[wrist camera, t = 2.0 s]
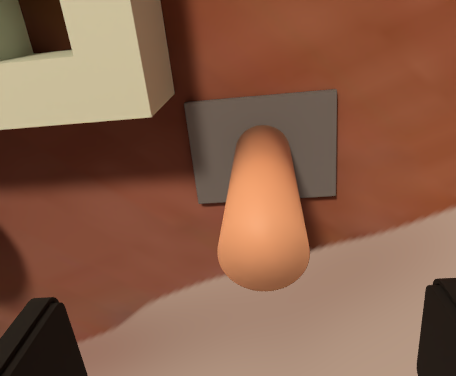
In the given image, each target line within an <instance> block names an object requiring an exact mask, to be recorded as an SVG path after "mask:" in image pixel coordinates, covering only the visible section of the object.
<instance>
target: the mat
mask: <svg viewBox="0 0 456 376" xmlns="http://www.w3.org/2000/svg"><path fill="white" fill-rule="evenodd" d="M184 108H185V114H186V121H187V128H188V135H189V141H190V148H191V155H192V162H193V169H194V175H195V182H196V189H197V196H198V202H199V204H203V203H220V202H226V199H227V194H228V188H229V183H230V177H231V171H232V166H233V160H234V155H235V149H236V144H237V142H238V139H239V138H240V136H241V135H242V134H243V133H244V132H245V131H246V130H248V129H250V128H252V127H254V126H259V125H268V126H272V127H274V128H276V129H278V130H280V131H281V132H282V133H283V134H284V135H285V137H286V138H287V140H288V142H289V146H290V151H291V156H292V161H293V166H294V172H295V177H296V182H297V187H298V192H299V197H300V198H308V197H325V196H336V135H337V90H336V89H331V90H319V91H308V92H296V93H285V94H273V95H261V96H250V97H238V98H227V99H215V100H204V101H192V102H185V103H184Z"/></svg>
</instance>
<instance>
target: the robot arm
mask: <svg viewBox="0 0 456 376" xmlns="http://www.w3.org/2000/svg"><path fill="white" fill-rule="evenodd" d="M417 373H418V376H456V278H444V279H435V280H434V282H433V285H428V286H427V287H426V292H425V300H424V309H423V317H422V325H421V334H420V342H419V350H418V358H417ZM0 376H87V372H86V369H85V366H84V363H83V360H82V357H81V354H80V351H79V348H78V345H77V342H76V339H75V336H74V333H73V330H72V327H71V324H70V321H69V318H68V315H67V312H66V309H65V306H64V304H63V303H59V301H58V300H57V299H56V298H54V297H49V298H33V299H31V300H30V301H29V302H28V303H27V305H26V306H25V307H24V309H23V310H22V311H21V312H20V314H19V315H18V316H17V318H16V319H15V320H14V322H13V323H12V324H11V325H10V327H9V328H8V329H7V331H6V332H5V333H4V335H3V336H2V337H1V338H0Z"/></svg>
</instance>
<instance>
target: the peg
mask: <svg viewBox="0 0 456 376" xmlns="http://www.w3.org/2000/svg"><path fill="white" fill-rule="evenodd" d="M309 258H310V249H309V243H308V238H307V233H306V228H305V223H304V217H303V212H302V207H301V202H300V197H299V192H298V187H297V182H296V177H295V172H294V166H293V161H292V156H291V151H290V146H289V142H288V140H287V138H286V137H285V135H284V134H283V133H282V132H281V131H280V130H278V129H276V128H274V127H272V126H268V125H259V126H254V127H252V128H250V129H248V130H246V131H245V132H244V133H243V134H242V135H241V136H240V138H239V139H238V142H237V144H236V149H235V155H234V160H233V166H232V171H231V177H230V183H229V188H228V194H227V199H226V205H225V211H224V216H223V222H222V227H221V233H220V239H219V244H218V260H219V263H220V266H221V268H222V269H223V271H224V272H225V274H226V275H227V276H228V277H229V278H230V279H231V280H232V281H234V282H235V283H237V284H238V285H240V286H242V287H244V288H248V289H251V290H255V291H273V290H278V289H281V288H284V287H287V286H288V285H290V284H292V283H294V282H295V281H296V280H297V279H298V278H299V277H300V276H301V275H302V274H303V273H304V271H305V269H306V268H307V265H308V263H309Z"/></svg>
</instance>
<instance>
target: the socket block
mask: <svg viewBox="0 0 456 376" xmlns="http://www.w3.org/2000/svg"><path fill="white" fill-rule="evenodd" d="M60 4H61V8H62V12H63V16H64V20H65V24H66V28H67V32H68V36H69V40H70V44H71V48H72V50H63V51H53V52H44V53H33V50H32V46H31V43H30V39H29V36H28V32H27V29H26V26H25V22H24V19H23V15H22V12H21V8H20V5H19V1H18V0H0V130H5V129H17V128H29V127H41V126H53V125H65V124H77V123H89V122H101V121H113V120H125V119H138V118H150V117H152V116H153V115H154V114H155V113H156V112H157V111H158V110H159V109H160V108H161V107H162V106H163V105H164V104H165V103H166V102H167V101H168V100H169V99H170V98H171V97H172V96H173V95H174V94H175V92H174V85H173V79H172V72H171V66H170V59H169V53H168V47H167V40H166V34H165V27H164V21H163V14H162V8H161V1H160V0H60Z"/></svg>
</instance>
